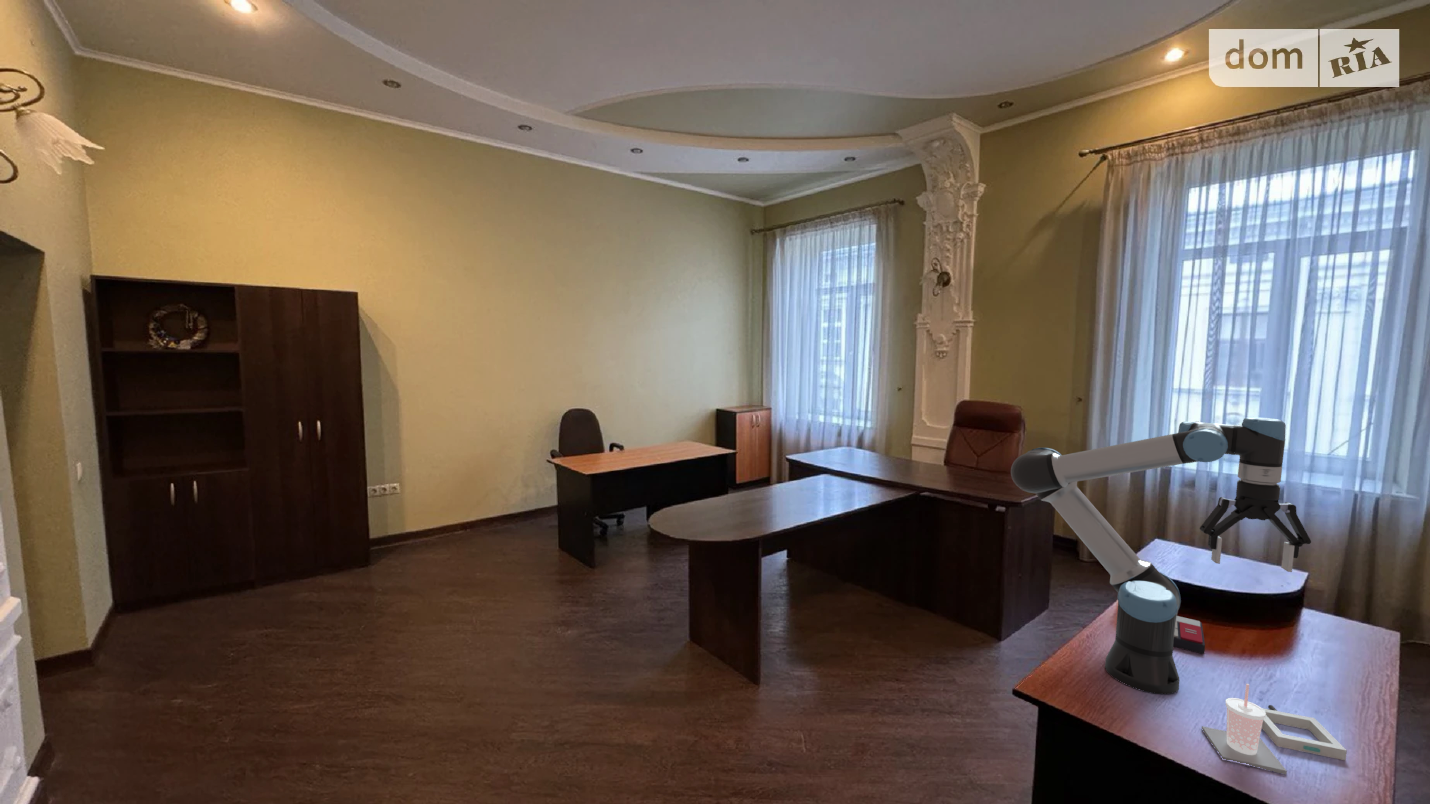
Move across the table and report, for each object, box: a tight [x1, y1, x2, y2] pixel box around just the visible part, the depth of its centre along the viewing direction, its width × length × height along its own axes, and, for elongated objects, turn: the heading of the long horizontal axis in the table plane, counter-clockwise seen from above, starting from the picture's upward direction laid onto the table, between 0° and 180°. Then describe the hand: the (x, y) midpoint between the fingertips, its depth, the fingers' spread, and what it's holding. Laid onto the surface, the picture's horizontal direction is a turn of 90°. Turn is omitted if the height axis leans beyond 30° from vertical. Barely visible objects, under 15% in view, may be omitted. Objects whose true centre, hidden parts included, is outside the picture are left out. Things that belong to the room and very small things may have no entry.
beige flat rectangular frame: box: [1261, 704, 1348, 761], centre depth 123 cm, size 11×16×2 cm
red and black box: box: [1173, 615, 1206, 655], centre depth 162 cm, size 11×4×15 cm
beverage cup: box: [1225, 683, 1266, 755], centre depth 116 cm, size 6×6×14 cm
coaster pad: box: [1201, 725, 1288, 776], centre depth 117 cm, size 10×10×1 cm
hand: (1250, 565), depth 137 cm, fingers open, 13 cm apart
